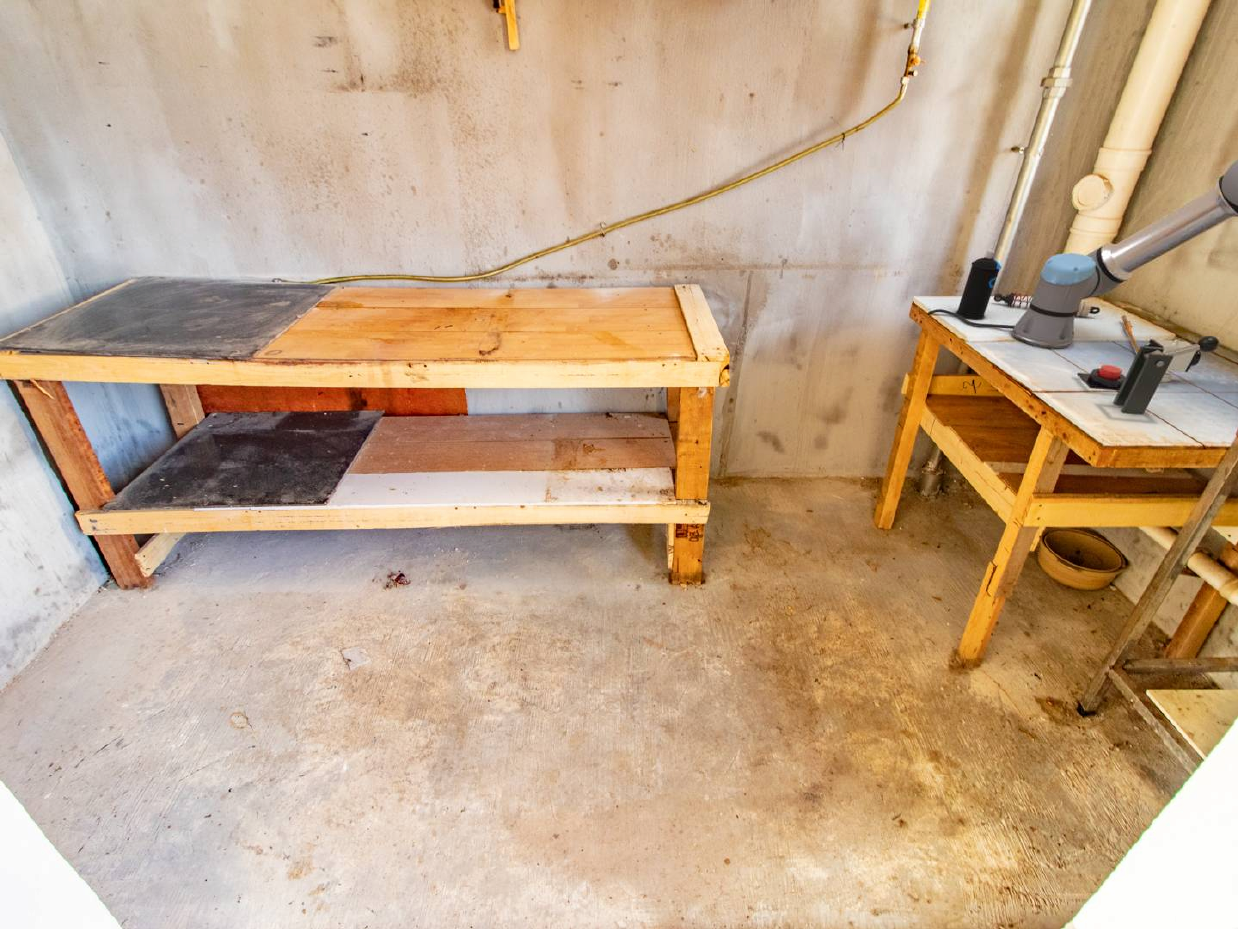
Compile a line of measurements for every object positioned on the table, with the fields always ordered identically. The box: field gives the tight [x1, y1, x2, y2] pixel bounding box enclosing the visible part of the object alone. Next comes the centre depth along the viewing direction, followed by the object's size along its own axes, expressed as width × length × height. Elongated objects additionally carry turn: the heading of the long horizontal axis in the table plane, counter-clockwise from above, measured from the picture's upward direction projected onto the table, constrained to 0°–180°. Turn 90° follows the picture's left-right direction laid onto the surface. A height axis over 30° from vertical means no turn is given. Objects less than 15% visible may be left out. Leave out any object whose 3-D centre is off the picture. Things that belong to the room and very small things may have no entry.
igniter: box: [1098, 364, 1123, 379], centre depth 162 cm, size 4×4×2 cm
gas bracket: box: [1112, 345, 1174, 416], centre depth 149 cm, size 9×7×16 cm
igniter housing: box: [1076, 367, 1126, 392], centre depth 163 cm, size 10×8×4 cm
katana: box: [1121, 315, 1140, 356], centre depth 190 cm, size 1×35×3 cm, turn 154°
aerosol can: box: [955, 249, 1002, 321], centre depth 201 cm, size 8×8×20 cm
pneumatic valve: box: [1143, 338, 1202, 383], centre depth 164 cm, size 6×12×12 cm, turn 82°
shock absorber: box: [993, 292, 1101, 318], centre depth 209 cm, size 5×5×30 cm
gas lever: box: [1143, 335, 1220, 364], centre depth 143 cm, size 13×4×4 cm, turn 79°
